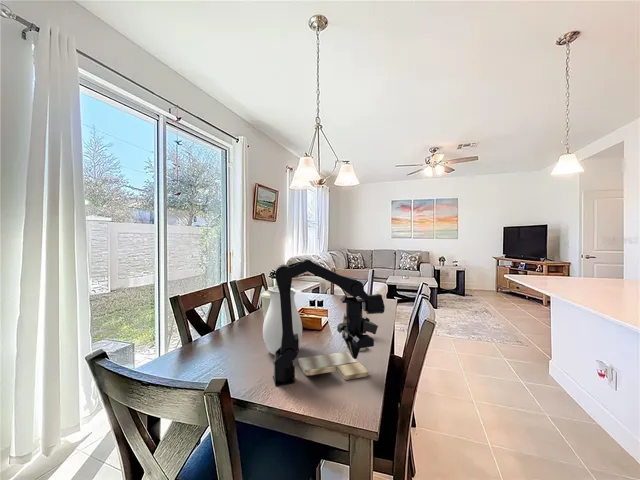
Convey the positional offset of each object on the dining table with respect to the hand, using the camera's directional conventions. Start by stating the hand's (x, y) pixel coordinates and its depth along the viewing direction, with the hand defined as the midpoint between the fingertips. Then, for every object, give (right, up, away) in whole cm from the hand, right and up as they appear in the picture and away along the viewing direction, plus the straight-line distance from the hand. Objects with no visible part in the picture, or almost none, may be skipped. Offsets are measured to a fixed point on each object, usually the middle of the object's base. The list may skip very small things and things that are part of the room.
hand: (354, 358), depth 101 cm
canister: (-37, -6, +62) cm, 73 cm away
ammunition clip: (+4, -6, +39) cm, 39 cm away
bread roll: (+4, -6, +25) cm, 26 cm away
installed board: (-9, -6, +9) cm, 14 cm away
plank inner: (-12, -4, -2) cm, 13 cm away
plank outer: (-1, -6, +2) cm, 6 cm away
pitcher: (-28, -6, +25) cm, 38 cm away
